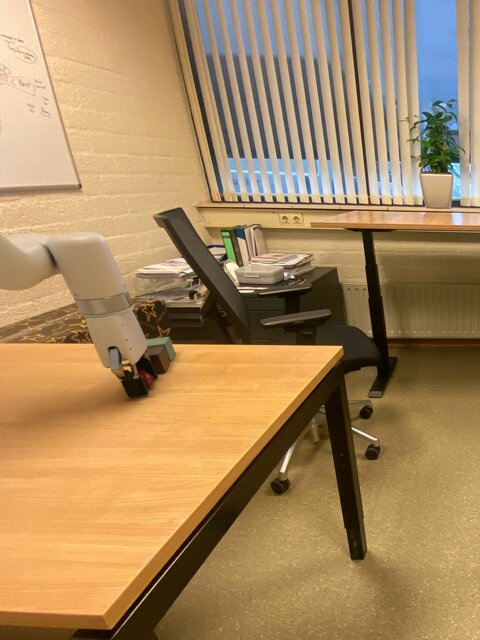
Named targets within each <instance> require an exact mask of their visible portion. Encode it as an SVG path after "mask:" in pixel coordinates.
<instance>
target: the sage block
mask: <svg viewBox="0 0 480 640" xmlns="http://www.w3.org/2000/svg"><path fill="white" fill-rule="evenodd" d="M146 341H147V348H155V347H162V346H163V348H164V350H165V353H166V355H167V358H168V360H169V363H171V362H173V360H174V358H175V357H176V355H177V352H176V350H175V348H174V345H173V343H172V340H171V338H170V336H164V337H163V336H162V337H155V338H148V339H146Z"/></svg>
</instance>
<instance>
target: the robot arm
mask: <svg viewBox="0 0 480 640" xmlns="http://www.w3.org/2000/svg"><path fill="white" fill-rule="evenodd" d="M56 275H62V278H63V280H64V282H65V284H66V286H67V288H68V291H69V292H70V295H71V297H72V298H73V300H74V302H75V305H76V307H77V308H78V310H79V312H80V314H81V316H82V317H83V318H85V322H86V327H87V330H88V333H89V337H90V338H91V341H92V343H93V346H94V349H95V351H96V353H97V356H98V358H99V360H100V362H101V364H102V366H103V367H104V368H105V369H110V372H111V374H113V375H114V376H115V377H116V378H117V379H118V381H119V382H120V383H121V385H122V388H123V389H124V391H125V393H126V396H127V397H128V398H129V399H133V398H139V397H144V396H148V395H149V390H148V389H147V388H146V385H145V383H144V381H143V379H142V377H141V376H138V372H137V371H142V370H144V371H145V372H147V373H148V374H150V375H152V376H153V377H154V379H153V381H155V380H157V379H158V374H156V372H155V369H154V367H153V365H152V362H151V361H150V357H149V355H148V354H147V352H146V351H147V341H146V336H145V334H144V332H143V329H142V327H141V324H140V322H139V320H138V319H137V317H136V315H135V313H134V311H133V310H134V309H135V305H134V301H133V300H132V297H131V295H130V293H129V291H128V288H127V286H126V284H125V280H124V279H123V275H122V273H121V272H120V269H119V266H118V264H117V262H116V260H115V257H114V255H113V253H112V250H111V248H110V245H109V243H108V241H107V239H106V238H105V236H103V235H101V233H100V234H99V233H97V232H93V231H76V232H66V233H60V234H53V233H52V234H50V233H49V234H48V233H45V234H44V233H31V232H20V233H19V232H18V233H12V234H9V235H5V234H3V233H2V232H1V231H0V290H3V291H11V292H12V291H14V292H15V291H25V290H29V289H32V288H33V287H36V286H37V285H38V284H41V283H42V282H43V281H45V280H47V279H50V278H52V277H54V276H56ZM125 361H128V362H127V363H123V362H125ZM148 361H150V362H148ZM135 363H136V364H135ZM128 367H129V369H130V370H129V369H125V368H128Z"/></svg>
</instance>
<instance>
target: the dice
mask: <svg viewBox="0 0 480 640" xmlns="http://www.w3.org/2000/svg"><path fill="white" fill-rule="evenodd" d="M137 372H138V376H141V377H142V379H143V381H144V383H145V385H146V388H147V390H148V389H151V387H152V385H153V383H154V380H153V379H154V377H153V376H152V375H150V374H148V373H147V372H145V371H144V370H142V371H137Z"/></svg>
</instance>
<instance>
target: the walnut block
mask: <svg viewBox="0 0 480 640" xmlns="http://www.w3.org/2000/svg"><path fill="white" fill-rule="evenodd" d="M146 352H147V354H148V355H149V357H150V361H151V362H152V365H153V367H154V369H155V372H156V374H157V375H158V374H166V373H167V370H168V369H169V367H170V365H171V362H169V360H168V358H167V355H166V353H165V350H164V348H163V346H162V347H155V348H147V351H146ZM150 361H148V362H150ZM135 364H136V363H135Z"/></svg>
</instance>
